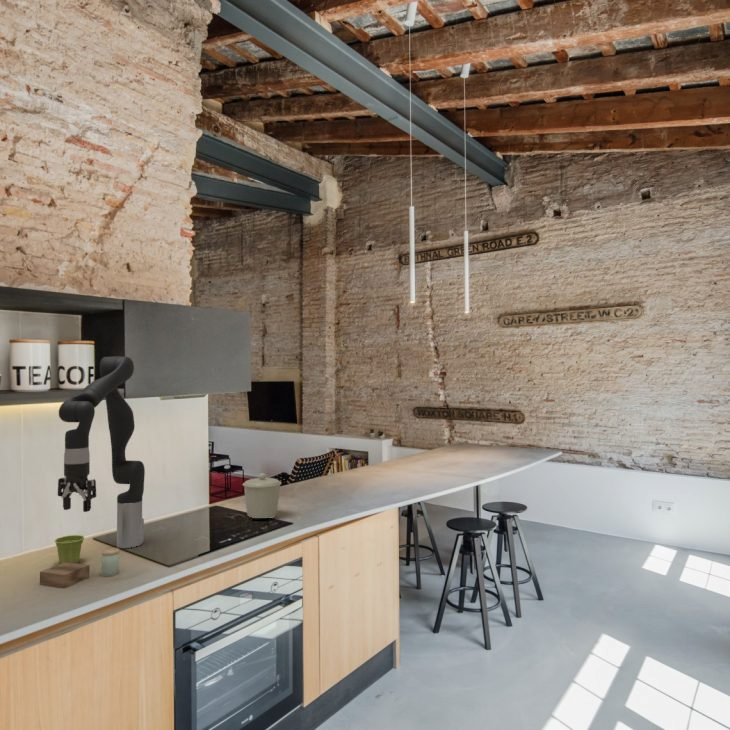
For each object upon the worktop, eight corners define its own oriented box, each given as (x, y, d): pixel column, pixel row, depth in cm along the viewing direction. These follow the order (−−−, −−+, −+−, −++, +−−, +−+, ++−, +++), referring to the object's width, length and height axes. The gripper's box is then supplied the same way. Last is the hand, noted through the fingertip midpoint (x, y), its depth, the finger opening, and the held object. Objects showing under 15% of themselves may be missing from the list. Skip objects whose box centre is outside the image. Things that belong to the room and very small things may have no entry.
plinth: (65, 574, 185) (65, 562, 185) (89, 577, 181) (89, 565, 182) (39, 584, 175) (39, 571, 175) (63, 588, 172) (64, 575, 172)
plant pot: (88, 558, 201) (89, 534, 201) (76, 567, 191) (76, 542, 191) (62, 559, 200) (63, 535, 200) (48, 567, 191) (49, 542, 191)
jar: (109, 570, 188) (110, 547, 189) (122, 571, 187) (122, 548, 187) (97, 575, 183) (97, 551, 183) (110, 577, 182) (110, 553, 182)
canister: (254, 525, 246) (254, 478, 247) (235, 517, 260) (235, 473, 260) (288, 518, 258) (288, 473, 259) (268, 511, 272) (268, 468, 272)
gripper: (102, 460, 183) (102, 509, 183) (70, 458, 188) (70, 506, 187) (84, 464, 176) (83, 515, 176) (50, 462, 181) (50, 511, 180)
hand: (76, 510), depth 181 cm, fingers open, 8 cm apart
